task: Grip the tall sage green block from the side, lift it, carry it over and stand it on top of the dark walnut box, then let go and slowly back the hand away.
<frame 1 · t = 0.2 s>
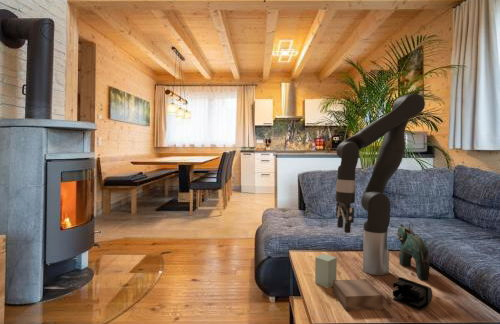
hand: (343, 230, 126), 18 cm above the table, tool pointing down, fingers open, 8 cm apart
green animal figurine: (413, 271, 128), on the table
end cap: (411, 303, 102), on the table
walnut box: (356, 301, 103), on the table
tall sage green block: (325, 283, 117), on the table
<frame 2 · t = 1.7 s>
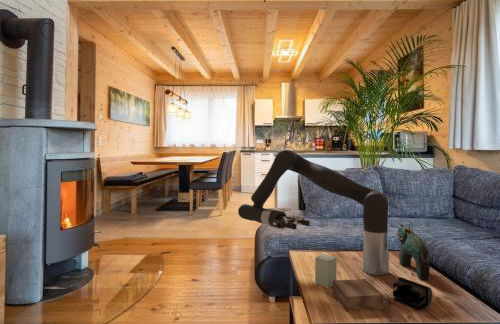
hand: (302, 225, 124), 20 cm above the table, tool horizontal, fingers open, 8 cm apart
nothing on the table moved.
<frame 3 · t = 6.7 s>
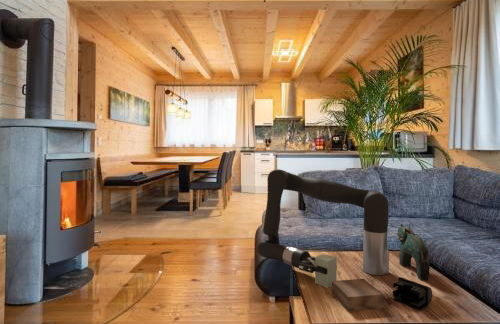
hand: (331, 269, 115), 6 cm above the table, tool horizontal, fingers closed on tall sage green block, 5 cm apart
tall sage green block: (325, 283, 117), on the table, touching gripper
everything else where it was.
when the fingers open (12 cm above the table, at t = 12.5 s): tall sage green block drops 1 cm, resting on walnut box.
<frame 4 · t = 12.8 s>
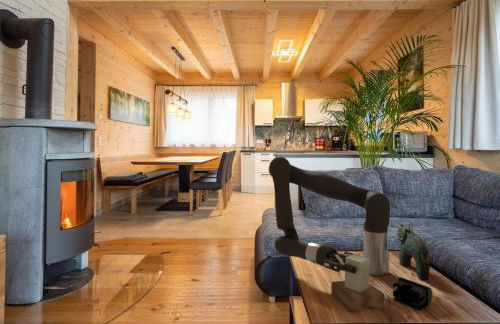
hand: (362, 267, 101), 12 cm above the table, tool horizontal, fingers open, 8 cm apart
walnut box: (356, 302, 103), on the table, touching tall sage green block
tall sage green block: (356, 287, 103), point 5 cm above the table, touching walnut box
everything else where it was.
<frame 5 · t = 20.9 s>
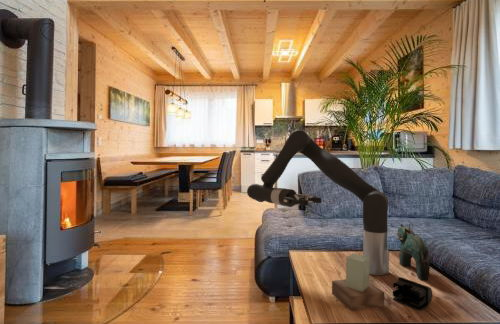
hand: (314, 201, 122), 30 cm above the table, tool horizontal, fingers open, 8 cm apart
walnut box: (356, 300, 104), on the table, touching tall sage green block
tall sage green block: (357, 286, 104), point 5 cm above the table, touching walnut box
everything else where it was.
at the end: tall sage green block inside the target area on the walnut box (0.1 cm from its centre), point 5.0 cm above the walnut box's base; tall sage green block tilted 1°; the gripper is holding nothing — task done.
